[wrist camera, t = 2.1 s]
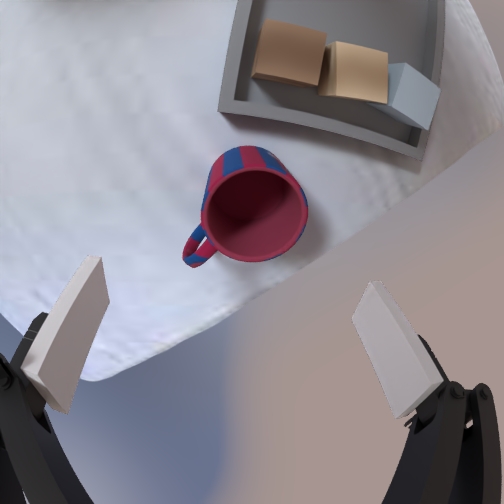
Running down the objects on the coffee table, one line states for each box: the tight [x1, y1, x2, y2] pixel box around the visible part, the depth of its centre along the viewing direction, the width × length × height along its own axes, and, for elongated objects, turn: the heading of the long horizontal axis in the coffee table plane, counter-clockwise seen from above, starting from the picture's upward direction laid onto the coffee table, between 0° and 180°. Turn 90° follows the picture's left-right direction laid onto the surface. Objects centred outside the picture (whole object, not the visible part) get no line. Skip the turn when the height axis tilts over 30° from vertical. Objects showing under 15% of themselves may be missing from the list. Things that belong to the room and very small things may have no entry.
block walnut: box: [251, 19, 327, 88], centre depth 15 cm, size 4×4×4 cm
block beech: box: [318, 41, 388, 104], centre depth 16 cm, size 4×4×4 cm
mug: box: [182, 146, 308, 268], centre depth 20 cm, size 7×10×7 cm
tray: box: [217, 0, 445, 161], centre depth 14 cm, size 22×18×2 cm
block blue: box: [367, 63, 441, 130], centre depth 16 cm, size 4×4×4 cm
